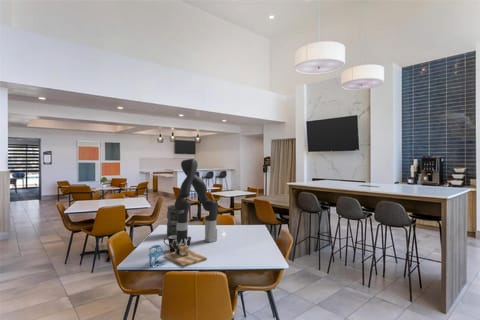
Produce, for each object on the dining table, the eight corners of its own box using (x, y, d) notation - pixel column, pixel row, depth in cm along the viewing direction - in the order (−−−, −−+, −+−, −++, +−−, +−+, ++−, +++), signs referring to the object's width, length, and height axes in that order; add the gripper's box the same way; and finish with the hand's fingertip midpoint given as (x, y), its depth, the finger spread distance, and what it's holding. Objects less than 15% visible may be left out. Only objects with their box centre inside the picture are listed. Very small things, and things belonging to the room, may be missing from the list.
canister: (181, 238, 227) (181, 205, 227) (163, 237, 230) (164, 204, 230) (187, 233, 243) (188, 202, 243) (171, 232, 245) (171, 201, 245)
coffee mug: (182, 250, 199) (182, 236, 199) (174, 253, 191) (174, 239, 191) (171, 247, 205) (171, 234, 205) (162, 250, 197) (162, 236, 197)
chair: (146, 265, 169) (146, 246, 169) (156, 261, 176) (157, 243, 176) (154, 268, 165) (154, 249, 165) (164, 264, 172) (165, 245, 172)
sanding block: (181, 251, 190) (181, 243, 190) (188, 255, 184) (188, 246, 184) (175, 253, 187) (175, 244, 187) (181, 256, 180) (182, 247, 180)
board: (186, 250, 197) (186, 248, 197) (206, 259, 180) (206, 257, 180) (164, 256, 184) (164, 254, 184) (183, 267, 167) (183, 264, 167)
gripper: (188, 226, 193) (187, 249, 193) (169, 229, 183) (169, 254, 183) (193, 228, 187) (193, 252, 188) (175, 231, 178) (175, 257, 178)
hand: (181, 253), depth 185 cm, fingers closed on sanding block, 5 cm apart
